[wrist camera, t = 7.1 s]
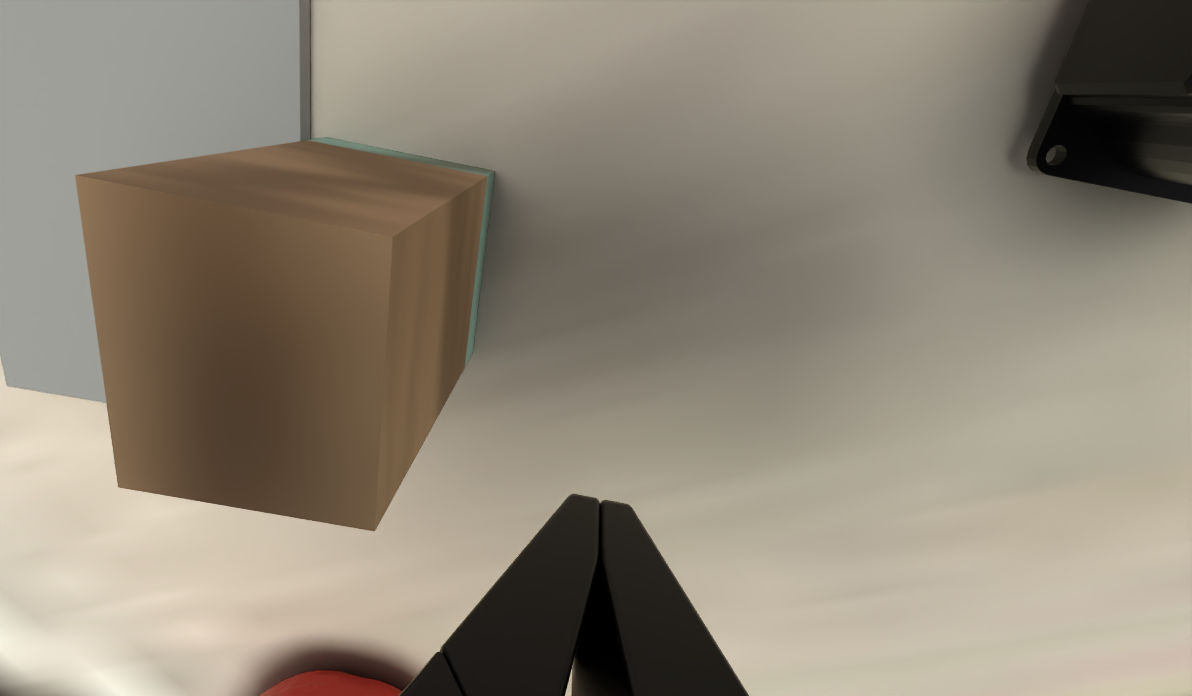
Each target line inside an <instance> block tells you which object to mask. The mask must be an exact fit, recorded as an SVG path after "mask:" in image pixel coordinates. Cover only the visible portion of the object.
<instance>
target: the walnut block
mask: <svg viewBox="0 0 1192 696" xmlns="http://www.w3.org/2000/svg"><path fill="white" fill-rule="evenodd" d="M494 175H495V171H492V170H487V169H482V168H477V167H472V166H467V165H462V164H457V163H452V162H447V161H442V160H437V159H432V158H427V157H422V156H417V155H412V154H407V153H402V152H397V151H392V150H387V149H382V148H377V147H372V146H367V145H362V144H357V143H352V142H347V141H342V140H337V139H332V138H328V137H325V138H318V139H312V140H305V141H298V142H292V143H285V144H278V145H272V146H265V147H258V148H252V149H245V150H238V151H232V152H225V153H218V154H212V155H205V156H198V157H192V158H185V159H178V160H172V161H165V162H158V163H152V164H145V165H138V166H132V167H125V168H118V169H112V170H105V171H98V172H92V173H85V174H78V175H75V179H76V187H77V194H78V201H79V208H80V215H81V223H82V230H83V237H84V244H85V251H86V259H87V266H88V273H89V280H90V287H91V295H92V302H93V309H94V316H95V323H96V331H97V338H98V345H99V352H100V359H101V367H102V374H103V381H104V388H105V395H106V403H107V410H108V417H109V424H110V432H111V439H112V446H113V453H114V460H115V468H116V475H117V482H118V487H120V488H125V489H131V490H137V491H143V492H149V493H155V494H160V495H166V496H172V497H178V498H184V499H190V500H195V501H201V502H207V503H213V504H219V505H225V506H230V507H236V508H242V509H248V510H254V511H260V512H265V513H271V514H277V515H283V516H289V517H295V518H300V519H306V520H312V521H318V522H324V523H330V524H335V525H341V526H347V527H353V528H359V529H365V530H370V531H375V530H376V528H377V526H378V524H379V522H380V521H381V519H382V517H383V515H384V513H385V512H386V510H387V508H388V506H389V504H390V502H391V501H392V499H393V497H394V495H395V493H396V492H397V490H398V488H399V486H400V484H401V482H402V481H403V479H404V477H405V475H406V473H407V472H408V470H409V468H410V466H411V464H412V462H413V461H414V459H415V457H416V455H417V453H418V452H419V450H420V448H421V446H422V444H423V442H424V441H425V439H426V437H427V435H428V433H429V432H430V430H431V428H432V426H433V424H434V422H435V421H436V419H437V417H438V415H439V413H440V412H441V410H442V408H443V406H444V404H445V402H446V401H447V399H448V397H449V395H450V393H451V392H452V390H453V388H454V386H455V384H456V382H457V381H458V379H459V377H460V375H461V373H462V372H463V370H464V368H465V366H466V364H467V362H468V361H469V359H470V357H471V355H472V353H473V346H474V338H475V330H476V321H477V313H478V305H479V297H480V289H481V281H482V273H483V265H484V257H485V248H486V240H487V232H488V224H489V216H490V208H491V200H492V192H493V183H494Z"/></svg>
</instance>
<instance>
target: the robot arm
mask: <svg viewBox="0 0 1192 696" xmlns="http://www.w3.org/2000/svg"><path fill="white" fill-rule="evenodd" d="M1055 86H1056V88H1055V91H1054V93H1053V95H1052V97H1051V100H1050V102H1049V104H1048V107H1047V109H1046V111H1045V113H1044V116H1043V118H1042V120H1041V123H1040V125H1039V127H1038V129H1037V132H1036V134H1035V136H1034V139H1033V141H1032V143H1031V145H1030V148H1029V150H1028V154H1027V158H1026V159H1027V165H1028V166H1029V168H1030V169H1031V170H1032V171H1034V172H1036V173H1039V174H1044V175H1050V176H1055V177H1060V178H1065V179H1070V180H1075V181H1080V182H1085V183H1090V184H1095V185H1100V186H1105V187H1110V188H1116V189H1121V190H1126V191H1131V192H1136V193H1141V194H1146V195H1151V196H1156V197H1161V198H1166V199H1171V200H1177V201H1182V202H1187V203H1192V0H1090V2H1089V4H1088V6H1087V9H1086V11H1085V13H1084V16H1083V18H1082V20H1081V22H1080V25H1079V27H1078V29H1077V32H1076V34H1075V36H1074V38H1073V41H1072V43H1071V45H1070V48H1069V50H1068V52H1067V55H1066V57H1065V59H1064V61H1063V64H1062V66H1061V68H1060V71H1059V73H1058V75H1057V78H1056V80H1055ZM1054 146H1055V148H1056V155H1055V157H1054V158H1053V160H1052V161H1050V162H1049V163H1047V161H1046V154H1047V152H1048V151H1049V150H1050V149H1051V148H1052V147H1054ZM572 665H573V667H572ZM571 669H572V696H749V695H748V693H747V692H746V690H745V688H744V687H743V685H742V684H741V682H740V680H739V679H738V677H737V676H736V674H735V672H734V671H733V669H732V668H731V666H730V664H729V663H728V661H727V659H726V658H725V656H724V655H723V653H722V651H721V650H720V648H719V647H718V645H717V643H716V642H715V640H714V639H713V637H712V635H711V634H710V632H709V631H708V629H707V627H706V626H705V624H704V623H703V621H702V619H701V618H700V616H699V614H698V613H697V611H696V610H695V608H694V606H693V605H692V603H691V602H690V600H689V598H688V597H687V595H686V594H685V592H684V590H683V589H682V587H681V586H680V584H679V582H678V581H677V579H676V578H675V576H674V574H673V573H672V571H671V570H670V568H669V566H668V565H667V563H666V561H665V560H664V558H663V557H662V555H661V553H660V552H659V550H658V549H657V547H656V545H655V544H654V542H653V541H652V539H651V537H650V536H649V534H648V533H647V531H646V529H645V528H644V526H643V525H642V523H641V521H640V520H639V518H638V517H637V515H636V513H635V512H634V510H633V508H632V507H631V506H630V505H628V504H624V503H619V502H614V501H609V500H603V501H602V502H601V503H600V502H599V500H598V499H597V498H593V497H588V496H583V495H578V494H571V495H570V496H568V498H567V499H566V500H565V501H564V502H563V503H562V505H561V506H560V507H559V508H558V509H557V511H556V512H555V513H554V514H553V515H552V516H551V518H550V519H549V520H548V521H547V522H546V524H545V525H544V526H543V527H542V528H541V529H540V531H539V532H538V533H537V534H536V535H535V537H534V538H533V539H532V540H531V541H530V543H529V544H528V545H527V546H526V547H525V548H524V550H523V551H522V552H521V553H520V554H519V556H518V557H517V558H516V559H515V560H514V561H513V563H512V564H511V565H510V566H509V567H508V569H507V570H506V571H505V572H504V573H503V575H502V576H501V577H500V578H499V579H498V580H497V582H496V583H495V584H494V585H493V586H492V588H491V589H490V590H489V591H488V592H487V593H486V595H485V596H484V597H483V598H482V599H481V601H480V602H479V603H478V604H477V605H476V607H475V608H474V609H473V610H472V611H471V612H470V614H469V615H468V616H467V617H466V618H465V620H464V621H463V622H462V623H461V624H460V625H459V627H458V628H457V629H456V630H455V631H454V633H453V634H452V635H451V636H450V637H449V639H448V640H447V641H446V642H445V643H444V644H443V646H442V647H441V649H440V652H437V653H436V654H435V655H434V656H433V657H432V658H431V659H430V661H429V662H428V663H427V664H426V665H425V666H424V668H423V669H422V670H421V671H420V672H419V674H418V675H417V676H416V677H415V678H414V679H413V680H412V682H411V683H410V684H409V685H408V686H407V687H406V688H405V689H404V690H403V691H402V693H401V694H400V695H399V696H565V693H566V689H567V685H568V681H569V677H570V673H571Z"/></svg>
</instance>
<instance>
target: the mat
mask: <svg viewBox="0 0 1192 696" xmlns="http://www.w3.org/2000/svg"><path fill="white" fill-rule="evenodd" d="M305 140H310V0H0V357H1V361H2V366H3V370H4V375H5V380H6V384H7V386H9V387H15V388H21V389H27V390H33V391H39V392H45V393H51V394H57V395H63V396H69V397H74V398H80V399H86V400H92V401H98V402H104V403H106V395H105V388H104V381H103V374H102V367H101V359H100V352H99V345H98V338H97V331H96V323H95V316H94V309H93V302H92V295H91V287H90V280H89V273H88V266H87V259H86V251H85V244H84V237H83V230H82V223H81V215H80V208H79V201H78V194H77V187H76V179H75V175H78V174H85V173H92V172H98V171H105V170H112V169H118V168H125V167H132V166H138V165H145V164H152V163H158V162H165V161H172V160H178V159H185V158H192V157H198V156H205V155H212V154H218V153H225V152H232V151H238V150H245V149H252V148H258V147H265V146H272V145H278V144H285V143H292V142H298V141H305Z"/></svg>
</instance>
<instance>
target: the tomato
mask: <svg viewBox="0 0 1192 696" xmlns="http://www.w3.org/2000/svg"><path fill="white" fill-rule="evenodd" d="M401 693H402V691H401V690H399V689H397V688H396V687H394V686H391V685H389V684H387V683H384V682H381V681H378V680H374V679H369V678H363V677H358V676H354V675H351V674H348V673H345V672H341V671H330V670H323V671H319V670H318V671H317V670H315V671H313V672H311V671H309V672H304V673H301V674H297V675H295V676H293V677H291V678H287V679H285V680H283V681H282V682H280V683H278V684H277V685H275V686H273V687H271V688H270V689H268V690H267V691H265V692H264V693H262V694H261V695H260V696H399V695H400V694H401Z"/></svg>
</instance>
